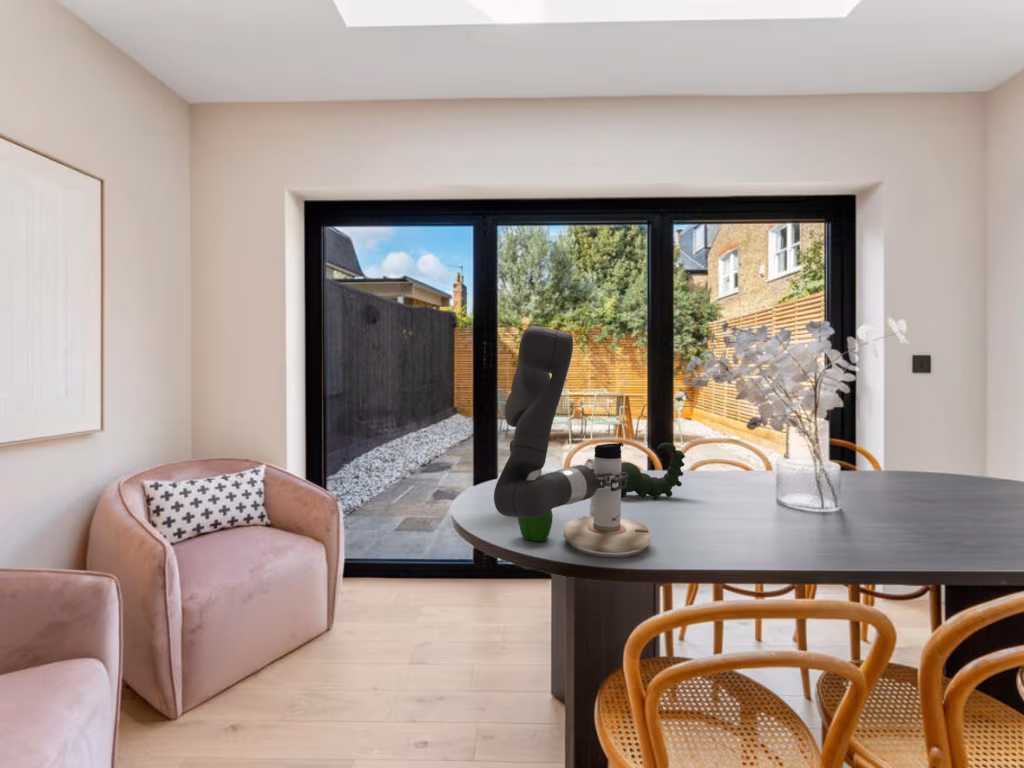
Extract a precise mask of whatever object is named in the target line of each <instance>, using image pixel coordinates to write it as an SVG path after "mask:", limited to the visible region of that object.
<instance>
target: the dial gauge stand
mask: <svg viewBox="0 0 1024 768" xmlns="http://www.w3.org/2000/svg"><path fill="white" fill-rule="evenodd" d="M594 460H595V459H594V456H592V457H589V458H588V459H587V460H586V461H585V463H584V466H587V467H589V468H590V469H594ZM593 510H594V495H593V496H592V497H591V498H589V516H586V515H585V516H584V515H583V516H582V517H593Z"/></svg>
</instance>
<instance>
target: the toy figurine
mask: <svg viewBox="0 0 1024 768" xmlns="http://www.w3.org/2000/svg"><path fill="white" fill-rule="evenodd" d="M662 449H665V450H667V451H668V452H669V453H672V454H671V458H670V460H669V466H668V467H667V469H666V473H665V474H664V475H663V477H659V478H658V477H656V476H653V477H652V476H650V475H649V474H647V473H644V472H641V469H640V468H639V467H638V466H637V465H636V464H633V463H632V462H627V461H626V462H621V473H622V472H627V473H628V481H627V482H626V487H625V488H622V489H621V498H625V497H626V496H627V493H633V492H635V493H636V494H637V495H638V497H639V498H640V499H645V498H646V497H647V496H650V497H652V498H653V499H654V500H655V499H656V501H657V500H659V499H660V497H661V496H662V495H663V494H664V495H665V496H666V497H668V498H669V497H672V496H673V491H672V489H673V487H675V486H676V487H679V488H680V487H682V485H683V483H682V482H681V481H680V480H679V478H680V477H683V476H684V472H683V471H682V467H684V466H685V462H683V460H684V459H685V458H686V455H685V454H684V453H683V452H682V450H679V449H677V448H676V446H675V444H673V443H671V442H662V443H660V444H658V446H657V448H656V450H658V451H659V450H662Z"/></svg>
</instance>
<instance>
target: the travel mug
mask: <svg viewBox="0 0 1024 768" xmlns="http://www.w3.org/2000/svg"><path fill="white" fill-rule="evenodd" d="M623 447H624V444H623V442H618V443H605V444H604V443H602V444H598V445H595V447H594V456H593V457H594V459H595V460H594V472H600V473H601V472H609V473H612V474H618V473H621V463H622V448H623ZM605 478H606V481H607V476H605ZM613 478H615V477H613ZM621 507H622V497H621V489H620V490H617V491H611V488H607V489H601V490H597V491H596V492H595V494H594V510H593V520H594V521H593V527H594V528H595V529H597V530H600V531H606V532H613V531H618V530H619V529H620V521H621V518H622V517H621V515H622V514H621V512H622V510H621Z"/></svg>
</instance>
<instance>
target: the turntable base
mask: <svg viewBox="0 0 1024 768" xmlns="http://www.w3.org/2000/svg"><path fill="white" fill-rule="evenodd" d="M569 544H570V546H571V547H572V548H573V549H574V550H575V549H576V550H575V551H577V552H579V553H582V554H585V555H589V556H593V557H599V558H608V559H609V558H611V559H613V558H616V559H617V558H618V559H619V558H627V557H632V556H636V555H638V554H641V553H642V552H643V551H644V548H642V549H639V550H634V551H627V552H605V551H596V550H591V549H586V548H582V547H579V546H576V545H574V544H572V543H570V542H569Z"/></svg>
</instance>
